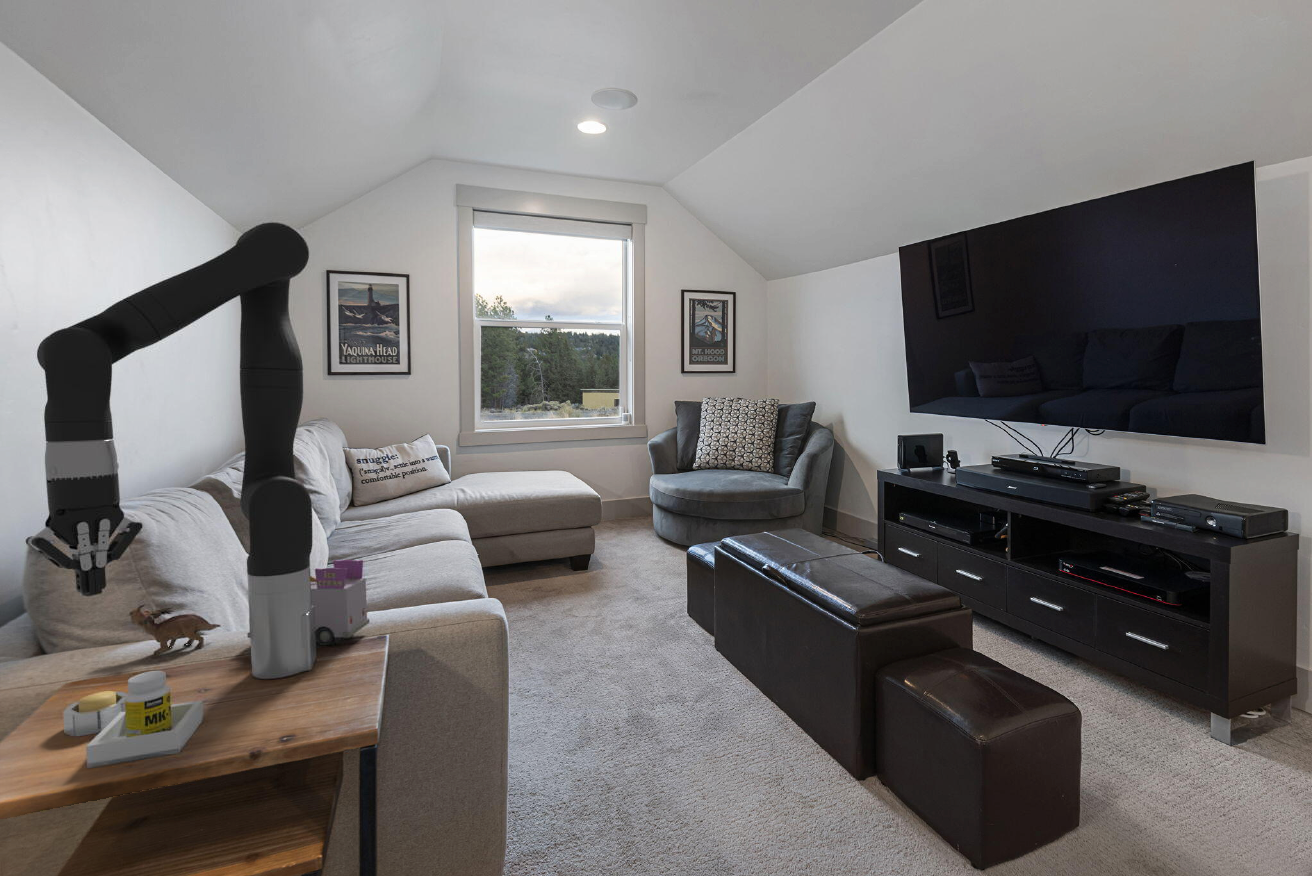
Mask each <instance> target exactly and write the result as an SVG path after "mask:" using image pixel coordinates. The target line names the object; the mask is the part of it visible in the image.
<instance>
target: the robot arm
mask: <svg viewBox="0 0 1312 876" xmlns="http://www.w3.org/2000/svg"><path fill="white" fill-rule="evenodd" d="M309 259H310V250H309V245H308V243H307V241H306V238H304V236H303V235H302V234H301V233H300V232H299V231H298V230H297V229H295V228H294V227H292V226H291V225H288V224H285V223H281V222H273V221H271V222H270V221H269V222H262V223H259V224H258V225H256V226H254V227H252V228H250V229H248V230H247V231H245V232H243V233H242V234H241V235H240V236H239V237H238V239H237V240H236V242H235V244H234V246H232V247H231V248H229V249H228V250H226V251H224V252H223V253H221V254H219V255H217V256H216V257H213V258H211V259H210V260H208V261H206V262H204V263H201V264H200V265H197V266H195V267H192V268H190V269H188V270H186V271H183V272H181V273H178V274H176V275H174V276H171V277H168V278H166V279H163V280H161V281H158V282H157V283H154V284H152V285H149V286H147V287H146V288H143V289H141V290H139V291H137V292H135V293H133V294H131V295H129V296H127V297H125V298H123V299H121V300H119V301H117V302H115V303H113V304H112V305H111V306H109V307H107V308H106V309H105V310H103V311H102V312H100V313H98V314H96V315H93V316H90V317H89V318H86V319H84V320H82V321H79V322H77V323H75V324H72V325H71V326H68V327H65V328H61V329H58V330H56V331H54V332H52V333H50V334H49V335H48V336H46V337H45V338H44V339H43V340H41V342H40V344H39V345H38V348H37V350H36V359H37V362H38V364H39V365H40V367H41V368H42V370H44V376H45V377H44V378H45V385H46V396H47V398H46V399H47V400H46V404H45V407H44V415H43V421H44V433H45V452H44V467H45V468H44V469H45V480H46V481H45V485H46V495H47V496H46V497H47V507H48V513H49V514H48V517H47V518H46V520H45V523H44V525H45V527H44V528H43V529H42V530H40V531H39V532H38V533H37V534H35V535H34V536H28V537H27V538H26V539H25V544H26V545H27V546H28V547H30V548H32V549H33V550H34V551H35V552H37V554H39V555H41V557H44V558H45V559H46V560H48V562H50V563H51V564H53V565H54V566H55V567H57V568H59V569H66V570H73V571H74V573H75V574H74V575H75V589H76V591H77V592H78V593H80V594H81V595H82V596H84V597H93V596H97V595H102V593H103V590H104V589H106V586H107V578H106V567H107V565H108V564H109V563H111V562H113V561H118V560H120V559H121V557H122V556H123V555H124V553H125V552H126V551H127V550H128V548H129V546H130V545H131V544H132V543H133V541H134V539H136V537H137V535H138V534H139V533H140V531H141V530H142V529H143V523H141V522H139V521H133V520H131V519H129V518H127V517H126V516H125V512H124V510H122V508H121V506H120V503H121V502H120V501H121V496H120V482H119V467H120V466H119V463H118V454H117V449H116V446H115V441H114V430H113V428H114V427H113V417H112V416H113V414H112V411H111V401H110V400H111V394H112V380H113V365H114V364H115V363H117V362H119V361H120V360H123V359H124V358H126V357H127V356H129V355H131V354H132V353H135V352H136V351H138V350H143V349H146V348H148V347H151V346H152V345H155V344H157V343H158V342H160V341H163V340H164V339H166V338H168V337H170V336H171V335H173V334H175V333H177V332H179V331H181V330H182V329H184V328H186V327H188V326H190V325H191V324H193V323H194V322H197V321H198V320H199V319H201V318H203V317H205V316H206V315H208V314H210V313H211V312H213V311H215V310H216V309H218V308H219V307H222V306H223V305H224V304H226V303H229V302H230V301H232V300H233V299H235V298H237V297H239V300H240V331H239V336H240V337H239V342H240V343H239V346H240V347H239V351H240V352H239V355H240V356H239V388H240V389H239V394H240V406H241V407H240V408H241V418H242V419H241V420H242V428H243V436H244V463H243V464H244V465H243V473H242V474H243V475H242V483H241V492H240V508H241V511H242V513H243V515H244V517H245V518H246V519H247V520H248V523H249V525H248V526H249V552H248V555H247V557H246V571H247V574H246V575H247V591H248V592H247V595H248V614H249V618H248V620H249V619H250V628H249V632H250V638H249V639H250V654H251V655H250V656H251V673H252V676H253V677H254V678H257V679H261V680H262V679H263V680H270V679H280V678H285V677H286V678H287V677H289V676H293V675H296V674H299V673H302V672H307V671H312V669H313V667H314V665H315V662H316V660H317V643H316V642H317V641H316V635H315V612H314V606H313V605H312V602H311V579H310V576H311V560H310V559H311V553H312V551H313V504H312V499H311V496H310V495H311V494H310V492H309V491H308V489H307V488H306V486H305V485H304V484H302V483H301V482H300V481H298V480H297V479H296V471H295V460H294V444H295V439H296V434H297V433H296V432H297V429H298V426H299V421H300V417H301V414H302V407H303V401H304V367H303V366H304V365H303V358H302V354H301V349H300V347H299V344H298V341H297V338H296V335H295V331H294V330H293V325H292V323H291V319H290V312H289V311H290V309H289V304H290V303H289V301H290V298H289V297H290V285H291V284H290V283H291V279H293V278H295V277H297V276H298V275H299V274H301V272H302V271H303V270H304V269H305V268H306V266H307V265H308V263H309ZM116 531H117V534H116V535H115V536H114V538H113V539H112V540H111V541H110V540H109V539H110V538H111V537H112V536H113V535H114V534H115V532H116ZM54 536H55V537H56V538H57V539H58V540H59V541H61V543H63V544H65V545H66V548H67V552H68V554H69V555H70V556H68V555H67V554H66V553H64V552H63V551H62V550H60V549H59V548H57V546H55V543H56V539H55V538H54ZM109 541H110V543H109ZM315 659H316V660H315Z"/></svg>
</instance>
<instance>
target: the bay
mask: <svg viewBox="0 0 1312 876" xmlns="http://www.w3.org/2000/svg"><path fill="white" fill-rule="evenodd" d="M203 703H204V701H203V700H194V701H187V702H180V703H174V704H171V723H172V724H171V725H172V730H170V731H164V732H157V733H151V734H145V735H139V736H132V737H127V735H126V714H125V712H120V713H119V714H118V715H117V716H116V717H115V718H114V719H113V720H112V721H111V722H110V723H109V724H108V725H107V726H106V727H105V728H104V729H103V730H102V731H101V732H99V733H97V735H95V737H94V738H93V739H92V740H91V741H90V742H89V743H88V744H87V745H86V746H85V751H86V752H85V753H86V755H85V756H86V767H87V769H93V768H98V767H103V766H110V765H114V764H120V763H121V764H122V763H127V762H131V761H132V762H133V761H140V760H144V759H151V758H158V757H161V756H167V755H175V754H180V753H181V751H182V750H183V749H184V747H185V746H186V744H187V743H188V741H189V740H190V739H191V737H192V736H193V735H194V733H195V732H196V730H197V729H198V727H199V726H200V725H201V724H202V722H203V720H204V704H203Z"/></svg>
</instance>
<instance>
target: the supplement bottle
mask: <svg viewBox="0 0 1312 876" xmlns="http://www.w3.org/2000/svg"><path fill="white" fill-rule="evenodd" d="M127 692H128V693H127V695H126V697H125V714H126V735H127V737H132V736H139V735H145V734H151V733H157V732H164V731H170V730H172V725H171V724H172V723H171V705H172V703H171V688H170V686H169V685H168V684H167V674H166V671H164V670H152V671H146V672H142V673H139V674H136V675H134V676H132V677H130V678H128V680H127Z"/></svg>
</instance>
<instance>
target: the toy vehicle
mask: <svg viewBox="0 0 1312 876" xmlns="http://www.w3.org/2000/svg"><path fill="white" fill-rule="evenodd" d="M332 565H333V567H326V568H315V569H314V574H315V577H313V576H312V575H310V579H311V602H312V605H313V606H314V612H315V635H316V642H317V644H319V645H320V646H323V645H328V646H331V645H332V644H334V643H335V644H338V643H339V642H340V640H341V638H350V637H351V636H353V635H355V634H356V633H357V632H358V631H359V630H362V629H363V628H364V627H366V626H367V625H368V624H370V618H368V610H367V609H368V608H367V606H368V605H367V604H368V603H367V583H366V582H367V581H366V580H367V579H366V577H363V571H364V570H363V569H364V560H363V559H361V560H355V559H342V560H341V559H340V560H336V559H334V560H332ZM248 621H249V622H248V626H249V629H250V619H249V618H248ZM246 634H247V638H248V639H250V631H249V632H247V633H246ZM330 644H331V645H330Z"/></svg>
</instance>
